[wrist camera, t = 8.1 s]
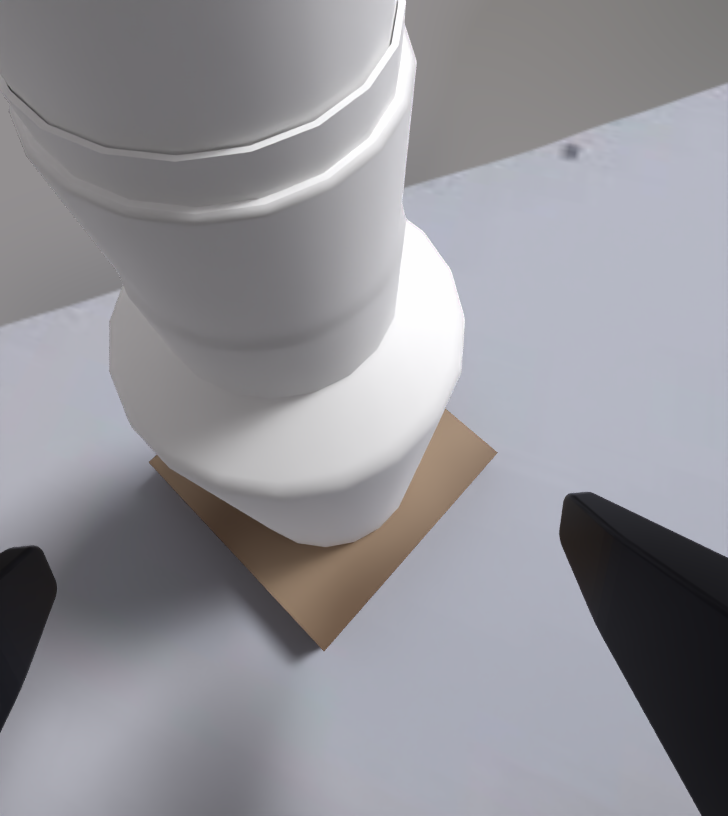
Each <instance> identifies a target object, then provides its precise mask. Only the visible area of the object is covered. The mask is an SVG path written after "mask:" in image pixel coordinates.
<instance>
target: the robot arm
mask: <svg viewBox="0 0 728 816" xmlns="http://www.w3.org/2000/svg"><path fill="white" fill-rule="evenodd" d="M559 535H560V541H561V545H562V547H563V550H564V552H565V554H566V557H567V559H568V561H569V564H570V566H571V568H572V571H573V573H574V575H575V578H576V580H577V583H578V585H579V587H580V590H581V592H582V594H583V597H584V599H585V601H586V604H587V606H588V608H589V611H590V613H591V615H592V617H593V619H594V622H595V624H596V626H597V628H598V630H599V632H600V633H601V635H602V637H603V639H604V641H605V643H606V644H607V646H608V648H609V650H610V652H611V653H612V655H613V657H614V659H615V661H616V662H617V664H618V666H619V668H620V670H621V671H622V673H623V675H624V677H625V679H626V680H627V682H628V684H629V686H630V688H631V689H632V691H633V693H634V695H635V697H636V699H637V700H638V702H639V704H640V706H641V708H642V709H643V711H644V713H645V715H646V717H647V718H648V720H649V722H650V724H651V726H652V727H653V729H654V731H655V733H656V735H657V736H658V738H659V740H660V742H661V744H662V745H663V747H664V749H665V751H666V753H667V754H668V756H669V758H670V760H671V762H672V763H673V765H674V767H675V769H676V771H677V772H678V774H679V776H680V778H681V780H682V781H683V783H684V785H685V787H686V789H687V790H688V792H689V794H690V796H691V798H692V799H693V801H694V803H695V805H696V807H697V808H698V810H699V812H700V814H701V816H728V558H727V557H725V556H723V555H721V554H719V553H717V552H715V551H713V550H711V549H709V548H707V547H704V546H702V545H700V544H698V543H696V542H694V541H692V540H690V539H688V538H686V537H684V536H681V535H679V534H677V533H675V532H673V531H671V530H669V529H667V528H665V527H663V526H661V525H659V524H656V523H654V522H652V521H650V520H648V519H646V518H644V517H642V516H640V515H638V514H636V513H634V512H631V511H629V510H627V509H625V508H623V507H621V506H619V505H617V504H615V503H613V502H611V501H609V500H606V499H604V498H602V497H600V496H598V495H596V494H594V493H592V492H580V493H570V494H568V495H567V496H566V497H565V499H564V502H563V508H562V516H561V523H560V530H559ZM56 592H57V585H56V580H55V578H54V576H53V573H52V571H51V569H50V567H49V564H48V562H47V560H46V557H45V555H44V553H43V551H42V550H41V549H40V548H39V547H38V546H34V545H32V546H21V547H13V548H9V549H7V550H5V551H3V552H2V553H0V732H1V730H2V728H3V726H4V724H5V722H6V720H7V718H8V715H9V713H10V711H11V709H12V707H13V705H14V703H15V701H16V699H17V696H18V694H19V692H20V690H21V688H22V685H23V683H24V680H25V678H26V675H27V673H28V670H29V667H30V665H31V662H32V659H33V657H34V654H35V651H36V648H37V646H38V643H39V640H40V638H41V635H42V632H43V630H44V627H45V624H46V621H47V619H48V616H49V613H50V611H51V608H52V605H53V602H54V600H55V597H56Z"/></svg>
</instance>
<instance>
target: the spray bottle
mask: <svg viewBox="0 0 728 816" xmlns="http://www.w3.org/2000/svg"><path fill="white" fill-rule="evenodd" d="M405 7H406V1H405V0H0V91H1V93H2V94H3V96H4V97H5V99H6V100H7V101H8V103H9V104H10V106H9V113H10V116H11V118H12V121H13V123H14V126H15V128H16V131H17V134H18V136H19V139H20V141H21V144H22V147H23V149H24V152H25V154H26V156H27V158H28V159H29V160H30V162H31V163H32V164H33V165H34V166H35V168H36V169H37V170H38V172H39V173H40V174H41V176H42V177H43V178H44V179H45V181H46V182H47V183H48V184H49V186H50V187H51V188H52V190H53V191H54V192H55V193H56V195H57V196H58V197H59V198H60V199H61V201H62V202H63V203H64V205H65V206H66V207H67V209H68V210H69V211H70V213H71V214H72V215H73V216H74V218H76V220H77V221H78V223H79V224H80V225H81V227H82V228H83V229H84V230H85V232H86V233H87V234H88V235H89V237H90V238H91V239H92V241H93V242H94V243H95V244H96V246H97V247H98V248H99V249H100V251H101V252H102V253H103V255H104V256H105V257H106V258H107V260H108V261H109V262H110V263H111V265H112V266H113V267H114V269H115V270H116V271H117V272H118V274H119V276H120V278H121V281H122V283H123V286H122V289H121V291H120V294H119V297H118V300H117V302H116V305H115V308H114V311H113V313H112V316H111V319H110V322H109V372H110V375H111V377H112V380H113V382H114V385H115V387H116V390H117V393H118V395H119V398H120V400H121V403H122V405H123V408H124V411H125V413H126V416H127V418H128V421H129V423H130V425H131V427H132V428H133V429H134V430H135V431H136V432H137V434H138V435H139V436H140V437H141V438H142V439H143V440H144V441H145V442H146V443H147V444H148V446H149V447H150V448H151V449H152V450H153V451H154V452H155V453H156V454H157V455H158V456H159V457H160V459H161V460H162V461H163V462H164V463H165V464H166V465H167V466H168V467H169V468H170V469H172V470H173V471H175V472H177V473H178V474H180V475H182V476H183V477H185V478H187V479H188V480H190V481H192V482H193V483H195V484H197V485H198V486H200V487H202V488H203V489H205V490H207V491H208V492H210V493H212V494H213V495H215V496H217V497H218V498H220V499H222V500H223V501H225V502H227V503H228V504H230V505H232V506H233V507H235V508H237V509H238V510H240V511H242V512H243V513H245V514H247V515H248V516H250V517H252V518H253V519H255V520H256V521H258V522H260V523H261V524H263V525H265V526H266V527H268V528H270V529H271V530H273V531H275V532H277V533H279V534H281V535H283V536H285V537H287V538H289V539H291V540H293V541H295V542H297V543H300V544H307V545H314V546H321V547H330V546H336V545H341V544H346V543H352V542H355V541H357V540H359V539H361V538H363V537H364V536H366V535H368V534H370V533H372V532H373V531H375V530H377V529H379V528H380V527H381V526H382V525H383V524H384V523H385V522H386V521H387V519H388V518H389V517H390V516H391V515H392V514H393V513H394V512H395V511H396V510H397V509H398V508H399V505H400V503H401V501H402V499H403V497H404V495H405V493H406V491H407V489H408V486H409V484H410V482H411V480H412V478H413V476H414V474H415V472H416V470H417V468H418V465H419V463H420V461H421V459H422V457H423V455H424V453H425V451H426V449H427V446H428V444H429V442H430V440H431V438H432V436H433V434H434V432H435V430H436V427H437V425H438V423H439V421H440V419H441V417H442V415H443V412H444V410H445V408H446V406H447V403H448V401H449V399H450V397H451V395H452V392H453V390H454V388H455V386H456V384H457V381H458V379H459V377H460V375H461V371H462V357H463V343H464V330H465V319H464V313H463V310H462V306H461V303H460V299H459V296H458V292H457V289H456V286H455V282H454V279H453V275H452V272H451V269H450V268H449V267H448V265H447V264H446V262H445V261H444V260H443V258H442V257H441V255H440V254H439V252H438V251H437V250H436V248H435V247H434V245H433V244H432V243H431V241H430V240H429V238H428V237H427V236H426V234H425V233H424V232H423V231H422V230H421V229H419V228H418V227H417V226H415V225H414V224H413V223H411V222H410V221H409V220H407V219H406V216H405V212H404V208H403V205H402V198H403V189H404V179H405V170H406V160H407V151H408V141H409V132H410V122H411V112H412V103H413V93H414V83H415V74H416V65H417V61H416V58H415V55H414V52H413V48H412V45H411V42H410V39H409V36H408V33H407V29H406V26H405V23H404V21H405Z"/></svg>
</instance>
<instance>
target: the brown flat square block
mask: <svg viewBox="0 0 728 816" xmlns="http://www.w3.org/2000/svg"><path fill="white" fill-rule="evenodd" d="M496 454H497V452H496V451H495V450H494V449H493V448H492V447H490V446H489V445H488V444H487V443H486V442H484V441H483V440H482V439H481V438H480V437H478V436H477V435H476V434H475V433H474V432H473V431H471V430H470V429H469V428H468V427H467V426H465V425H464V424H463V423H462V422H461V421H459V420H458V419H457V418H456V417H455V416H454V415H452V414H451V413H450V412H449V411H448V410H446V409H445V410H444V412H443V415H442V417H441V419H440V421H439V423H438V425H437V427H436V430H435V432H434V434H433V436H432V438H431V440H430V442H429V444H428V446H427V449H426V451H425V453H424V455H423V457H422V459H421V461H420V463H419V465H418V468H417V470H416V472H415V474H414V476H413V478H412V480H411V482H410V484H409V486H408V489H407V491H406V493H405V495H404V497H403V499H402V501H401V503H400V505H399V508H398V509H397V510H396V511H395V512H394V513H393V514H392V515H391V516H390V517H389V518H388V519H387V521H386V522H385V523H384V524H383V525H382V526H381V527H380V528H379V529H377V530H375V531H373V532H372V533H370V534H368V535H366V536H364V537H363V538H361V539H359V540H357V541H355V542H352V543H346V544H341V545H336V546H330V547H321V546H314V545H307V544H300V543H297V542H295V541H293V540H291V539H289V538H287V537H285V536H283V535H281V534H279V533H277V532H275V531H273V530H271V529H270V528H268V527H266V526H265V525H263V524H261V523H260V522H258V521H256V520H255V519H253V518H252V517H250V516H248V515H247V514H245V513H243V512H242V511H240V510H238V509H237V508H235V507H233V506H232V505H230V504H228V503H227V502H225V501H223V500H222V499H220V498H218V497H217V496H215V495H213V494H212V493H210V492H208V491H207V490H205V489H203V488H202V487H200V486H198V485H197V484H195V483H193V482H192V481H190V480H188V479H187V478H185V477H183V476H182V475H180V474H178V473H177V472H175V471H173V470H172V469H170V468H169V467H168V466H167V465H166V464H165V463H164V462H163V461H162V460H161V459H160V457H159V456H158V455H156V456H155V457H154V458H153V459H152V460H151V461H149V463H150V464H151V465H152V466H153V467H154V469H155V470H156V471H157V472H158V473H159V474H160V475H161V476H162V477H163V478H164V479H165V480H166V482H167V483H168V484H169V485H170V486H171V487H172V488H173V489H174V490H175V491H176V492H177V493H178V494H179V496H180V497H181V498H182V499H183V500H184V501H185V502H186V503H187V504H188V505H189V506H190V507H191V508H192V510H193V511H194V512H195V513H196V514H197V515H198V516H199V517H200V518H201V519H202V520H203V521H204V522H205V524H206V525H207V526H208V527H209V528H210V529H211V530H212V531H213V532H214V533H215V534H216V535H217V537H218V538H219V539H220V540H221V541H222V542H223V543H224V544H225V545H226V546H227V547H228V548H229V549H230V551H231V552H232V553H233V554H234V555H235V556H236V557H237V558H238V559H239V560H240V561H241V562H242V563H243V565H244V566H245V567H246V568H247V569H248V570H249V571H250V572H251V573H252V574H253V575H254V576H255V578H256V579H257V580H258V581H259V582H260V583H261V584H262V585H263V586H264V587H265V588H266V589H267V590H268V592H269V593H270V594H271V595H272V596H273V597H274V598H275V599H276V600H277V601H278V602H279V603H280V604H281V606H282V607H283V608H284V609H285V610H286V611H287V612H288V613H289V614H290V615H291V616H292V617H293V619H294V620H295V621H296V622H297V623H298V624H299V625H300V626H301V627H302V628H303V629H304V630H305V631H306V633H307V634H308V635H309V636H310V637H311V638H312V639H313V640H314V641H315V642H316V643H317V644H318V645H319V647H320V648H321V649H322V650H323V651H325V650H326V649H327V647H328V646H329V645H330V644H331V643H332V642H333V641H334V639H335V638H336V637H337V636H338V635H339V634H340V633H341V631H342V630H343V629H344V628H345V627H346V626H347V625H348V623H349V622H350V621H351V620H352V619H353V618H354V617H355V615H356V614H357V613H358V612H359V611H360V610H361V609H362V607H363V606H364V605H365V604H366V603H367V602H368V601H369V599H370V598H371V597H372V596H373V595H374V594H375V593H376V591H377V590H378V589H379V588H380V587H381V586H382V585H383V583H384V582H385V581H386V580H387V579H388V578H389V576H390V575H391V574H392V573H393V572H394V571H395V570H396V568H397V567H398V566H399V565H400V564H401V563H402V562H403V560H404V559H405V558H406V557H407V556H408V555H409V554H410V552H411V551H412V550H413V549H414V548H415V547H416V546H417V544H418V543H419V542H420V541H421V540H422V539H423V538H424V536H425V535H426V534H427V533H428V532H429V531H430V530H431V528H432V527H433V526H434V525H435V524H436V523H437V522H438V520H439V519H440V518H441V517H442V516H443V515H444V514H445V512H446V511H447V510H448V509H449V508H450V507H451V505H452V504H453V503H454V502H455V501H456V500H457V499H458V497H459V496H460V495H461V494H462V493H463V492H464V491H465V489H466V488H467V487H468V486H469V485H470V484H471V483H472V481H473V480H474V479H475V478H476V477H477V476H478V475H479V473H480V472H481V471H482V470H483V469H484V468H485V467H486V465H487V464H488V463H489V462H490V461H491V460H492V459H493V457H494V456H495V455H496Z"/></svg>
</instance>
